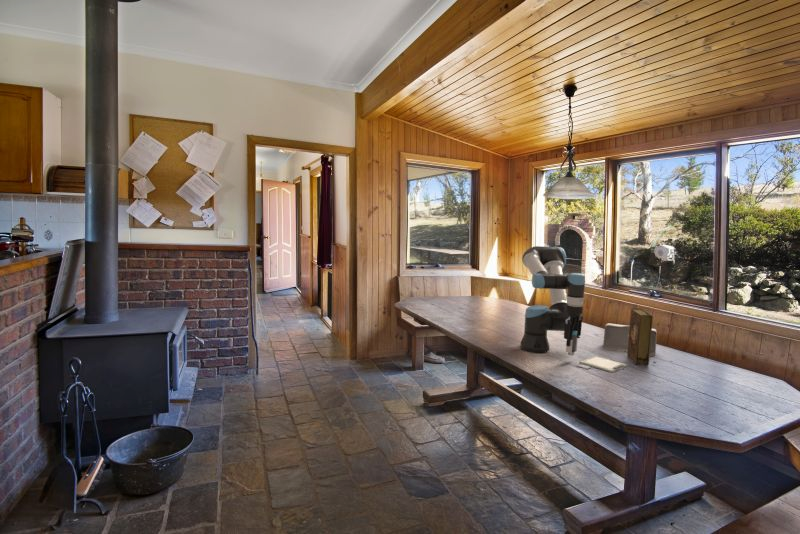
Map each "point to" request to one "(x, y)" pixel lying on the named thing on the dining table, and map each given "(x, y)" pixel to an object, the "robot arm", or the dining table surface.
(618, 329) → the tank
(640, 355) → the book
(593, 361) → the cream square framed board
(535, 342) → the robot arm
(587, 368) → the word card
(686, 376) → the dining table surface
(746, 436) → the dining table surface
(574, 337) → the marker
